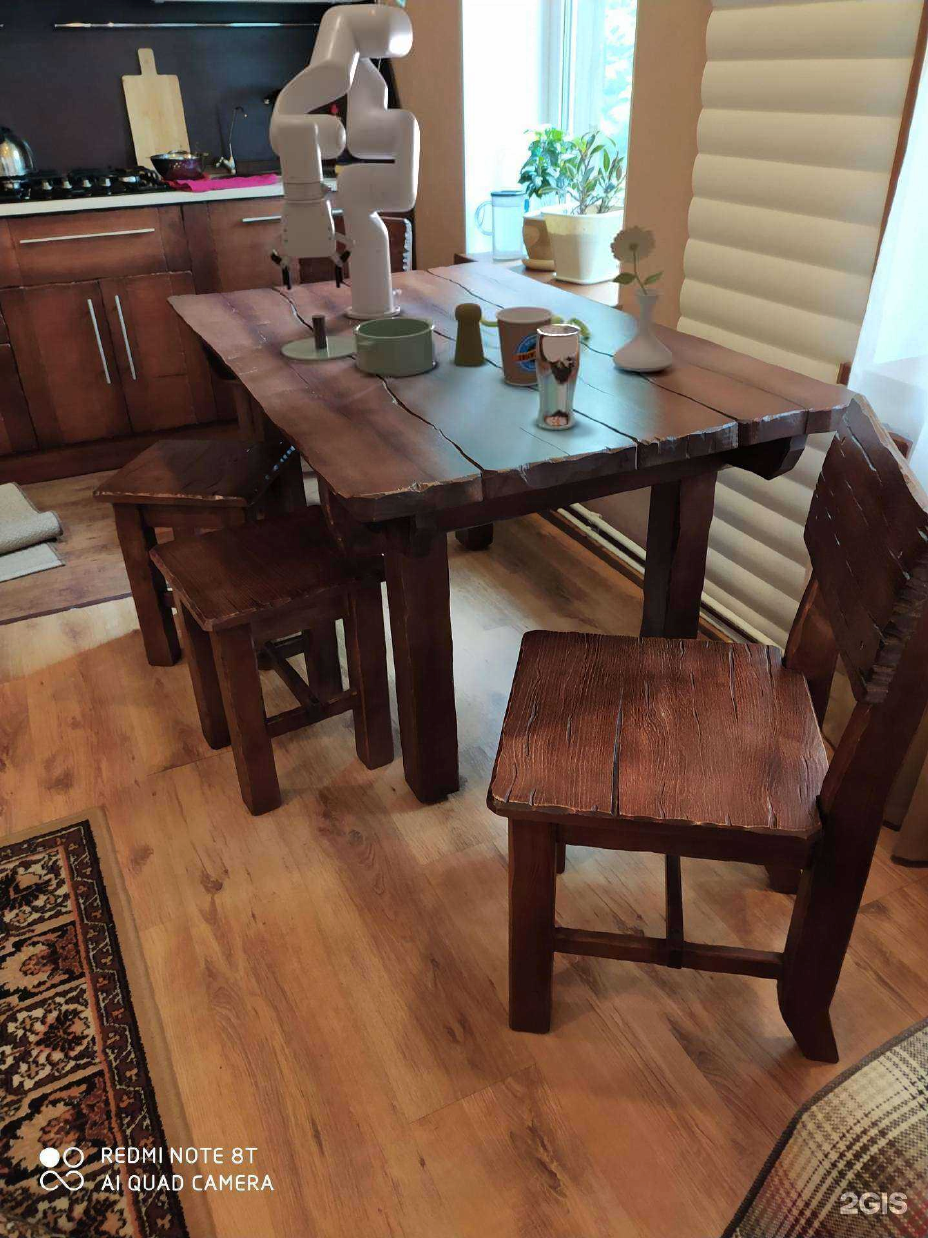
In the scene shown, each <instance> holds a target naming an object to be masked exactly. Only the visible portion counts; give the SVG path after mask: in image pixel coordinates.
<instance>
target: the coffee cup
mask: <svg viewBox="0 0 928 1238" xmlns="http://www.w3.org/2000/svg"><path fill="white" fill-rule="evenodd" d="M554 314H555V313H554V312H553V311H552V310H550V309H547V308H544V307H539V306H514V307H507V308H504V309H503V308H502V309H500V310H498V311H497V312H495V315H494V316H495V318H496V321H497V323H498V327H497V331H498V339H499V348H500V354H501V363H502V374H503V375H504V376H503V377H504V380H505V383H507V384H509V385H511V386H517V387H530V386H536V385H538V382H537V376H536V367H535V350H536V339H537V329H538V328H540V327H542V326H546V325H551V318H552V317H553V315H554Z"/></svg>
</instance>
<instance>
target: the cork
mask: <svg viewBox="0 0 928 1238" xmlns="http://www.w3.org/2000/svg"><path fill="white" fill-rule="evenodd" d="M482 316H483V311H482V307H481V305H479V304H478V303H475V302H474V303H473V302H464V303H459V304H458V305H457V306H456V307H455V309H454V318H455V321H456V322H457V328H456V341H455V349H454V350H455V352H454V361H453V363H454V364H455V365H457V366H459V367H478V366H482V365H484V364H485V363H486V359H485V352H484V346H483V339H482V332H481V331H482V330H481V325H480V324H481V323H480V322H479V321H480V320H481V317H482Z"/></svg>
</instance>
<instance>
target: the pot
mask: <svg viewBox="0 0 928 1238" xmlns="http://www.w3.org/2000/svg"><path fill="white" fill-rule="evenodd" d="M352 333H353V339H354V346H355V354H354V355H355V365H356V367H357V369H358V370H361V371H363V372H365V373H370V374H377V375H391V376H389V378H401V377H402V378H403V377H409V376H410V377H411V376H414V375H419V374H422V373H425V372H428V371H430V370H432V369H433V368H434V367H435V365H436V342H435V341H436V340H435V325H434V324H433V323H432V322H431V321H429V320H428V318H421V317H417V318H416V317H408V316H407V317H406V316H401V317H400V316H398V317H397V316H393V317H389V318H381V319H374V320H365V321H364V322H361V323H359V324H356V325H355V326H354V327H353V329H352Z"/></svg>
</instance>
